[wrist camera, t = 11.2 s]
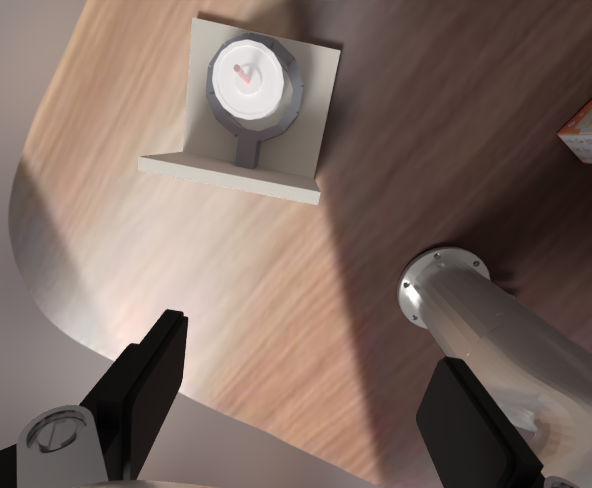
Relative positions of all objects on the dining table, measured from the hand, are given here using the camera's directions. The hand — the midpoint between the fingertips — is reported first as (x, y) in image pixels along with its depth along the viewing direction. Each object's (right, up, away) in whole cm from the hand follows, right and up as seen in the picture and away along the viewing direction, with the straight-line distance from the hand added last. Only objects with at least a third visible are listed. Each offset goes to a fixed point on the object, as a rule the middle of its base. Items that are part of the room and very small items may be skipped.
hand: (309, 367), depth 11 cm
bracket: (-5, +20, +25) cm, 33 cm away
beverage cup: (-5, +21, +24) cm, 32 cm away
